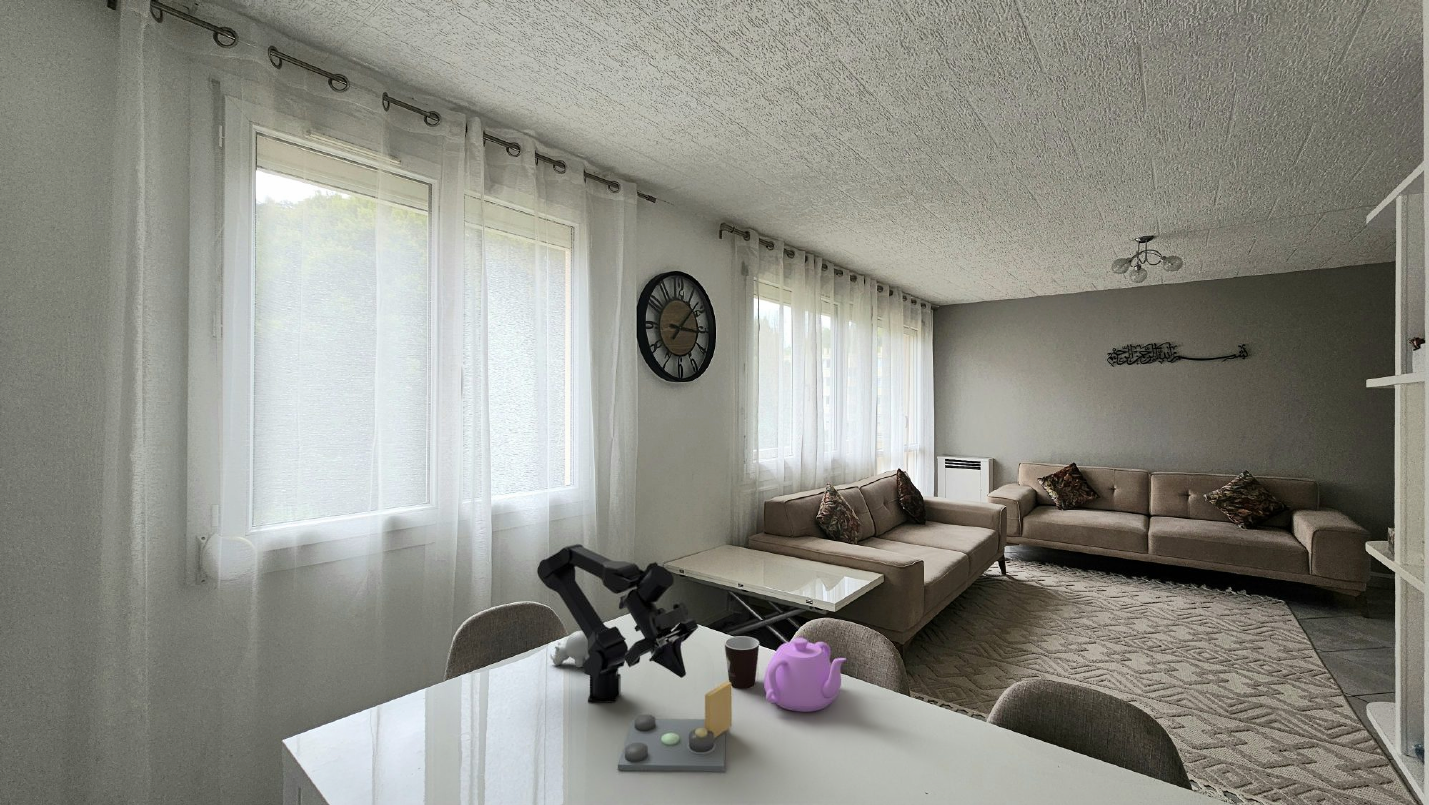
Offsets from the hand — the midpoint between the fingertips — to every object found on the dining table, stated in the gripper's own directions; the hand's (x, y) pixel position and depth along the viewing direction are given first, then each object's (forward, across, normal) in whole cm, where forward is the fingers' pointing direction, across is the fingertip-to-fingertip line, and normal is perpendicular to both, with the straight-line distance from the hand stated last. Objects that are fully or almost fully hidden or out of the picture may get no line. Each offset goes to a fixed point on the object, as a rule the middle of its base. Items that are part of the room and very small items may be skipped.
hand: (683, 676), depth 127 cm
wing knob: (+13, -1, +1) cm, 13 cm away
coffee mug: (+6, +26, +10) cm, 29 cm away
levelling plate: (+10, -6, +6) cm, 13 cm away
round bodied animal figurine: (-24, +8, +40) cm, 47 cm away
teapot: (+19, +26, -3) cm, 32 cm away
